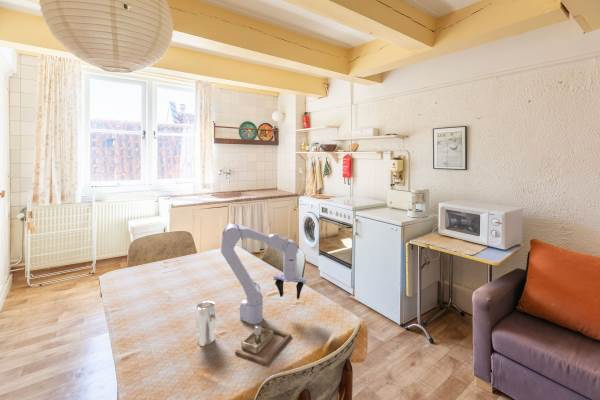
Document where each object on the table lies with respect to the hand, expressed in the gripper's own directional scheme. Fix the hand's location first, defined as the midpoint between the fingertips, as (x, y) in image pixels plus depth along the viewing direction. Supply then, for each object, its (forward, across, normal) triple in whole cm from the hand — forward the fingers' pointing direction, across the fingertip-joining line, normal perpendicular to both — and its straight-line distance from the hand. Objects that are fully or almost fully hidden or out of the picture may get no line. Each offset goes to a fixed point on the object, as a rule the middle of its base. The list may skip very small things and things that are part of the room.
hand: (289, 297), depth 130 cm
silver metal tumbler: (+10, -25, -26) cm, 37 cm away
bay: (+9, -2, -23) cm, 25 cm away
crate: (+8, -5, -22) cm, 25 cm away
